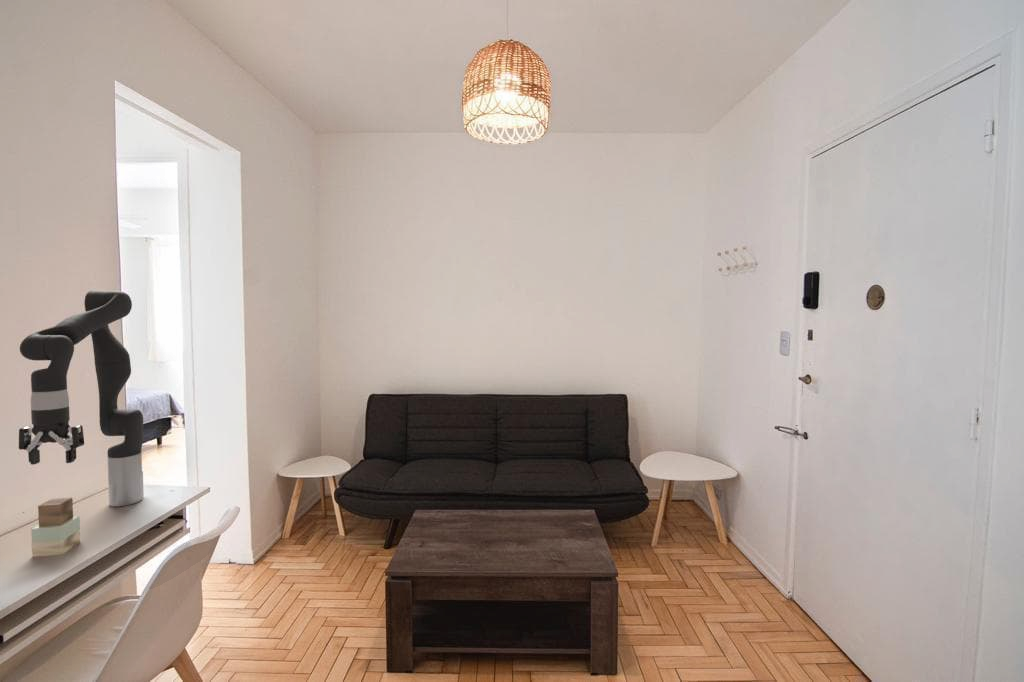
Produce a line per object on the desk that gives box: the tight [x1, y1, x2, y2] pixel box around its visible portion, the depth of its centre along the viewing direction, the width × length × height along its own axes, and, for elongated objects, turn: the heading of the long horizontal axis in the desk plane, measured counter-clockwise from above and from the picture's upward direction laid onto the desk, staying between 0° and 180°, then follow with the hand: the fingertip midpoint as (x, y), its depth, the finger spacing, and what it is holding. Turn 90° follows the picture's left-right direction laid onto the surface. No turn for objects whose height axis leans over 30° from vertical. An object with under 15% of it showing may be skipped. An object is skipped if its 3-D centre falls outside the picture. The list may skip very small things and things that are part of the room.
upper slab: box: [30, 515, 81, 544], centre depth 130 cm, size 7×7×4 cm
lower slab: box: [31, 529, 81, 558], centre depth 130 cm, size 7×7×4 cm
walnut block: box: [37, 497, 74, 527], centre depth 130 cm, size 5×5×6 cm
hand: (52, 463), depth 129 cm, fingers open, 8 cm apart
